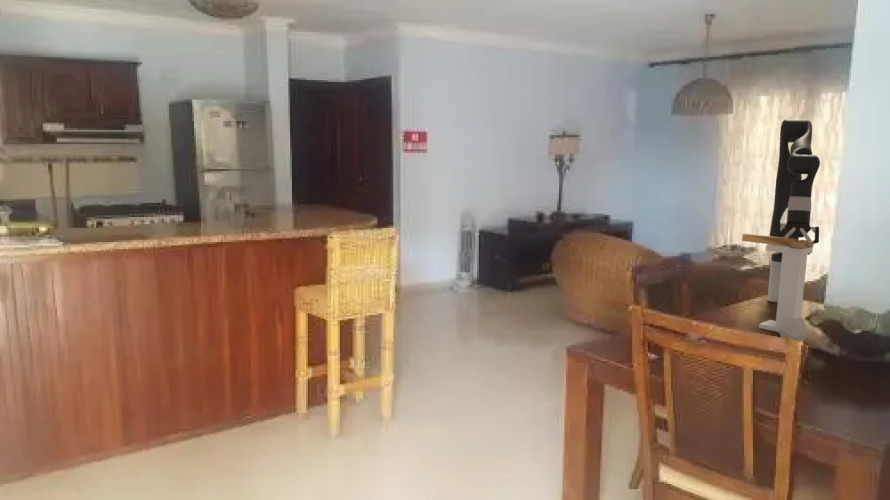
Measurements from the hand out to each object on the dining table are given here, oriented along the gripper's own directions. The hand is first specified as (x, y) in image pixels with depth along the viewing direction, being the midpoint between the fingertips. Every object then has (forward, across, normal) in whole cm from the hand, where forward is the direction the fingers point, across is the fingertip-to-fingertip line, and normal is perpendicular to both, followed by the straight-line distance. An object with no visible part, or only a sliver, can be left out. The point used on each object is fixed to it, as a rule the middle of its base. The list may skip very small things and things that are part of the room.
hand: (795, 253), depth 249 cm
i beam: (+27, +3, +11) cm, 29 cm away
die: (+29, 0, +27) cm, 40 cm away
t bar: (-3, +6, +13) cm, 15 cm away
